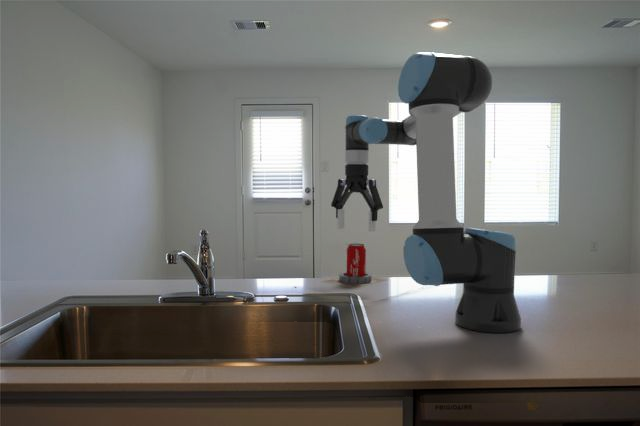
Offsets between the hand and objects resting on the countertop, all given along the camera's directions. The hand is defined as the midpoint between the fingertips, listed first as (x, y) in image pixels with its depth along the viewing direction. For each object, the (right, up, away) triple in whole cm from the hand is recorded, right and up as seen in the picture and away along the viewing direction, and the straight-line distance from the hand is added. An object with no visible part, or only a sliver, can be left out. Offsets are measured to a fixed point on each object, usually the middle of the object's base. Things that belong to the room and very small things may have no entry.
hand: (356, 229), depth 171 cm
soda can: (0, -17, +1) cm, 17 cm away
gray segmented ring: (0, -17, +1) cm, 17 cm away
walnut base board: (0, -18, +1) cm, 18 cm away
